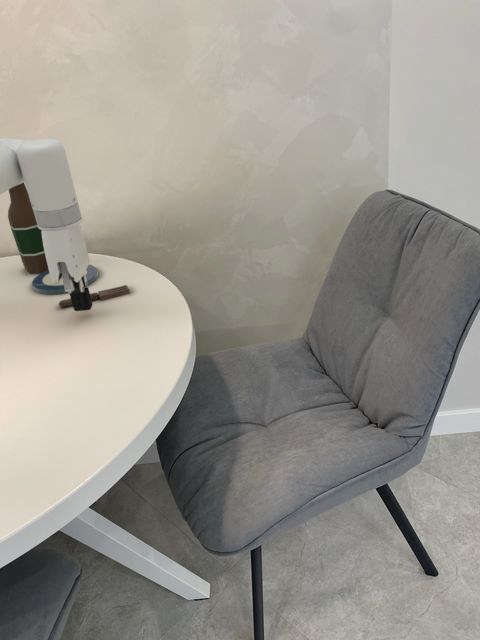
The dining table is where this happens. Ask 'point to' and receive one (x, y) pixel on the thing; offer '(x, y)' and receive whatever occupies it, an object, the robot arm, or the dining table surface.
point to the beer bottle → (26, 230)
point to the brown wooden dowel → (101, 295)
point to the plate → (46, 285)
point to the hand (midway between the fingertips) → (83, 308)
